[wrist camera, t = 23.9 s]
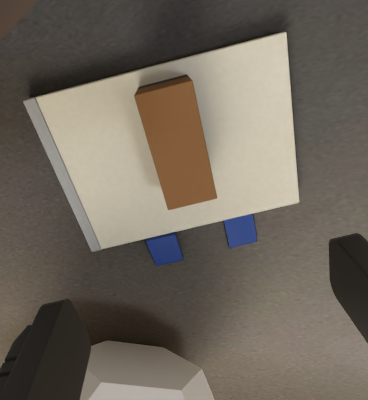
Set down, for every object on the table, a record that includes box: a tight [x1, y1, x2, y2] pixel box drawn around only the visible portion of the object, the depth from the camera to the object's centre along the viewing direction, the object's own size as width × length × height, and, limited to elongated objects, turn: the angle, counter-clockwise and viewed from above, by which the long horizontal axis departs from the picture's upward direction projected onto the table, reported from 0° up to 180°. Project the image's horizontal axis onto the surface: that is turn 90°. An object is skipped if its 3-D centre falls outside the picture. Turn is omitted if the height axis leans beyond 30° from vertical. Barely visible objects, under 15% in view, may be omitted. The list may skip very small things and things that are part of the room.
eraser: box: [134, 74, 217, 210], centre depth 25 cm, size 4×9×4 cm, turn 14°
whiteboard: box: [23, 32, 299, 252], centre depth 28 cm, size 15×21×1 cm
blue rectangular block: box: [146, 232, 183, 266], centre depth 32 cm, size 4×3×1 cm
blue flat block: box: [224, 214, 257, 248], centre depth 32 cm, size 4×3×1 cm
